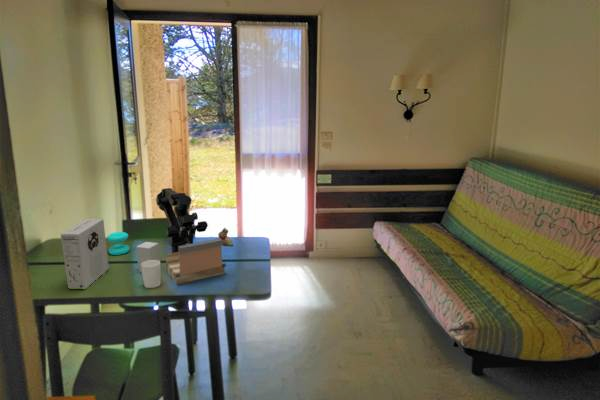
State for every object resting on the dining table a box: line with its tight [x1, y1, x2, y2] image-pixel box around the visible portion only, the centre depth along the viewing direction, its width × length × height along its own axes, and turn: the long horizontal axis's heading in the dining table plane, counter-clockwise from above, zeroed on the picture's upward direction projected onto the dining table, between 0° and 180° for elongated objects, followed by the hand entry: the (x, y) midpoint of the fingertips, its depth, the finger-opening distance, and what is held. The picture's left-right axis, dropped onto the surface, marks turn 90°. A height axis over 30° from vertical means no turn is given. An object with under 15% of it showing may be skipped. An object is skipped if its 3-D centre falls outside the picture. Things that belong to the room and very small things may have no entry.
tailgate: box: [178, 237, 223, 275], centre depth 188 cm, size 3×19×13 cm, turn 122°
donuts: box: [106, 231, 131, 256], centre depth 222 cm, size 10×10×10 cm
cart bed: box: [165, 252, 227, 285], centre depth 197 cm, size 18×23×8 cm
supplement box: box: [135, 241, 162, 273], centre depth 200 cm, size 7×7×13 cm
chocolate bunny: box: [217, 227, 234, 247], centre depth 234 cm, size 6×8×10 cm
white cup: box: [141, 260, 162, 289], centre depth 185 cm, size 8×8×10 cm
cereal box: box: [60, 218, 110, 289], centre depth 189 cm, size 22×8×25 cm, turn 178°
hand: (191, 244), depth 198 cm, fingers closed
